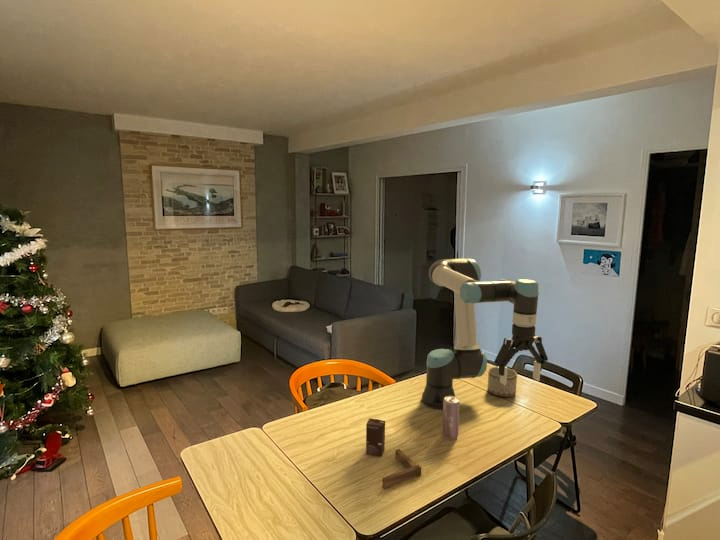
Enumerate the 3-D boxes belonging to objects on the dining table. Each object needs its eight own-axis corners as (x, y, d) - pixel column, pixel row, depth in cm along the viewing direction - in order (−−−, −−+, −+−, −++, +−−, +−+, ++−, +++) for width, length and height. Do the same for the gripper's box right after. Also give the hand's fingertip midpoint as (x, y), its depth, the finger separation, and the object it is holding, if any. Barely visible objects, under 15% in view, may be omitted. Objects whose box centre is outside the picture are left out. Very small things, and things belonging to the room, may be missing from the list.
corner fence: (366, 467, 137) (366, 459, 137) (400, 455, 144) (400, 448, 143) (384, 489, 127) (384, 480, 126) (421, 475, 133) (421, 467, 133)
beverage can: (459, 433, 158) (461, 397, 155) (456, 441, 152) (457, 404, 150) (444, 430, 160) (445, 394, 158) (440, 437, 155) (441, 401, 153)
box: (365, 455, 144) (365, 423, 142) (369, 448, 148) (369, 417, 146) (382, 458, 142) (382, 426, 140) (385, 451, 146) (385, 419, 145)
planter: (519, 399, 186) (521, 377, 185) (492, 398, 186) (493, 377, 185) (510, 387, 199) (511, 366, 197) (484, 386, 199) (485, 366, 197)
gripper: (498, 330, 134) (494, 390, 138) (561, 324, 141) (556, 382, 144) (486, 323, 142) (482, 380, 145) (546, 318, 148) (542, 373, 151)
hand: (519, 381), depth 145 cm, fingers open, 13 cm apart
